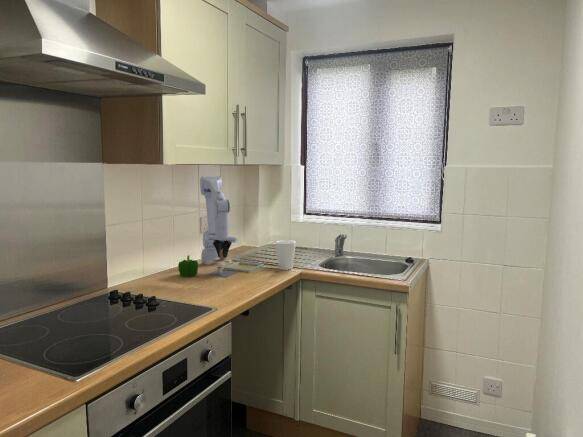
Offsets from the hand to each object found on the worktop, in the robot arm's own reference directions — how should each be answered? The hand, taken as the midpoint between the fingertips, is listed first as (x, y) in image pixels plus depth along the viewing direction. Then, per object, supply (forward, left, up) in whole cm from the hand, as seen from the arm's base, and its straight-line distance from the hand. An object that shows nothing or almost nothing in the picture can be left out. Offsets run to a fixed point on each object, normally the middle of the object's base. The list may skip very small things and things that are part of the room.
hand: (222, 257), depth 200 cm
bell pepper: (-11, -10, -9) cm, 17 cm away
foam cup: (+20, +24, -9) cm, 32 cm away
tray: (+4, +12, -8) cm, 15 cm away
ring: (0, -3, -2) cm, 3 cm away
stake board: (+1, -2, -8) cm, 9 cm away
